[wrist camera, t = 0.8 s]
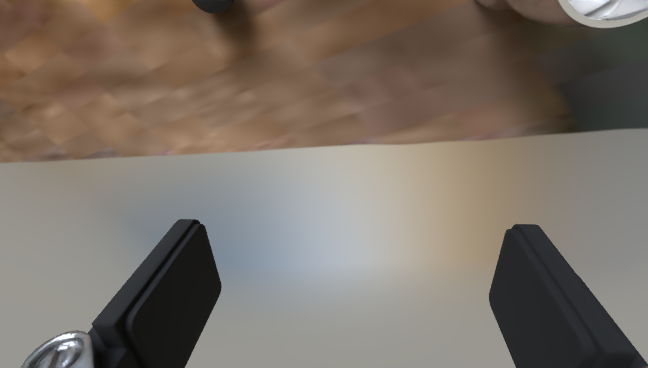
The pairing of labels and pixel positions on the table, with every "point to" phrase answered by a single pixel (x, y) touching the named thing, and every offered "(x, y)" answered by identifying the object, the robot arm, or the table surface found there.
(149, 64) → the table surface
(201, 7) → the ball
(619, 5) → the beer glass
